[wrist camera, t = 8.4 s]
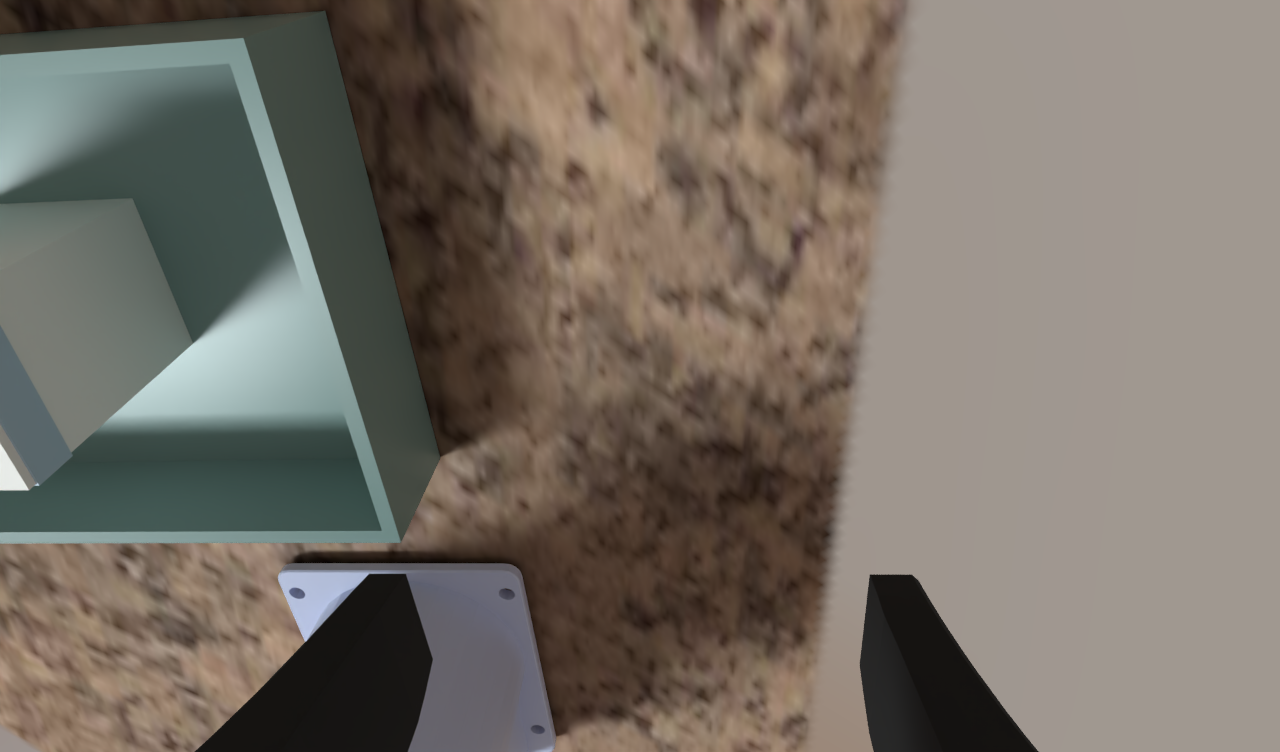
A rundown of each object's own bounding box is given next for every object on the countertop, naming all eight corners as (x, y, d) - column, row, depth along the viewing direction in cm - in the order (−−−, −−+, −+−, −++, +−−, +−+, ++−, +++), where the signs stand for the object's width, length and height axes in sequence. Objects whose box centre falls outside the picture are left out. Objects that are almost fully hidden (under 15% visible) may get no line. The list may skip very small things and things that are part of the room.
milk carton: (195, 345, 21) (32, 492, 16) (53, 348, 21) (-151, 492, 16) (133, 196, 19) (-77, 311, 14) (-24, 203, 19) (-285, 317, 14)
